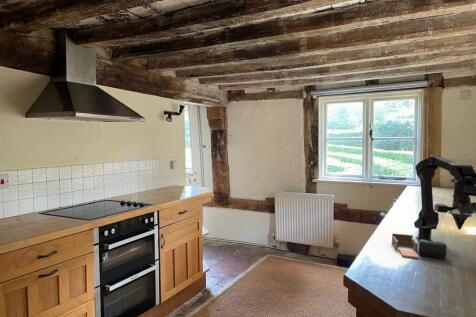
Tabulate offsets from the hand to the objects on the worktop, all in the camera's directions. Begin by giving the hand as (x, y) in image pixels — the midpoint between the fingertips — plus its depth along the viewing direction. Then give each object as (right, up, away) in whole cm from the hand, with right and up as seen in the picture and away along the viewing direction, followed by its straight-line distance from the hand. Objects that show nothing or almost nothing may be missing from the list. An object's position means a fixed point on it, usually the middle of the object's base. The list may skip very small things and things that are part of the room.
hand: (459, 229), depth 144 cm
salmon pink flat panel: (-21, -11, +4) cm, 24 cm away
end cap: (-13, -12, -1) cm, 17 cm away
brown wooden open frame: (-19, -11, +9) cm, 24 cm away
